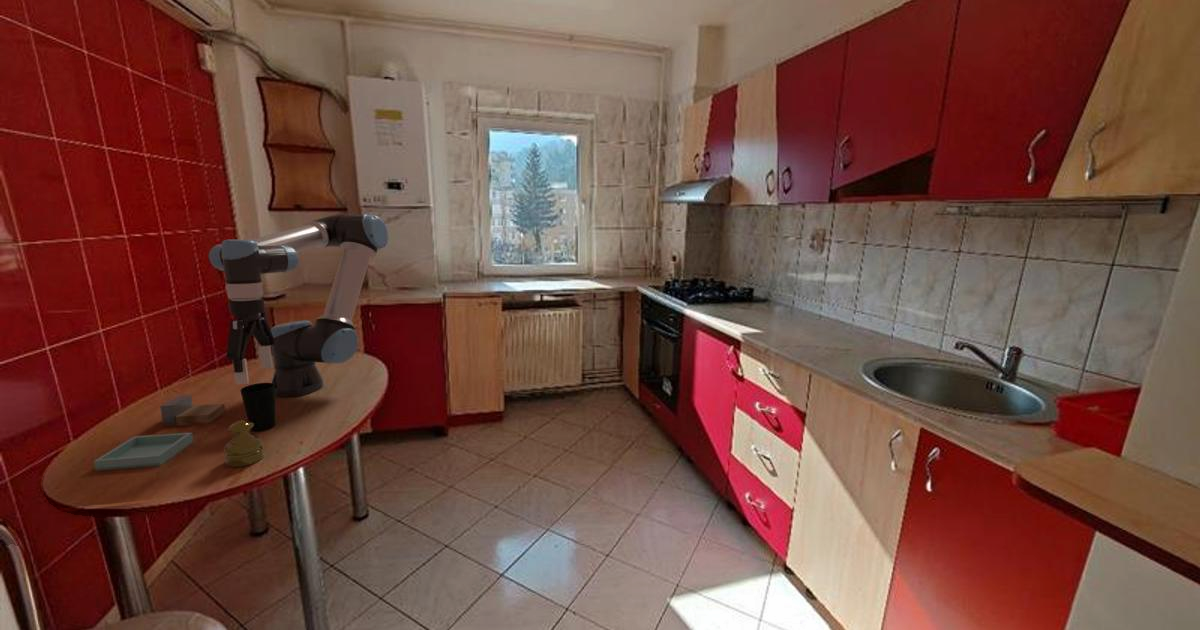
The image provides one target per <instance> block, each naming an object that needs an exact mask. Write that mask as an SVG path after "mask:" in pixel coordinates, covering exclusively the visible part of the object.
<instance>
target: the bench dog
mask: <svg viewBox="0 0 1200 630" xmlns="http://www.w3.org/2000/svg"><path fill="white" fill-rule="evenodd" d="M192 406H194V405H193V399H192V394H183V395H178V396H176V397H174V398H172V399H169V401H167V402H165V403H164V404H162V405H160V413H161V418H162V419H161V420H162V422H163V427H171V426H174V427H175V426H178V425H177V422H176V416H177V415H179V414H181V413H182V412H184V411H185V410H187V409H189V408H190V407H192Z"/></svg>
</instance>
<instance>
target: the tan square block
mask: <svg viewBox="0 0 1200 630" xmlns="http://www.w3.org/2000/svg"><path fill="white" fill-rule="evenodd" d="M225 412H226V407H225V403H220V404H219V403H218V404H217V403H216V404H200V405H199V404H198V405H197V404H196V405H193V406H192V407H190V408H189V409H187V410H185V411H184V412H182V413H181V414H179V415H177V416H176V422H177V425H176V426H187V425H201V424H210V423H212V422H213V421H214V420H216V419H217V418H219V417H221V415H223V414H224V413H225Z"/></svg>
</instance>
